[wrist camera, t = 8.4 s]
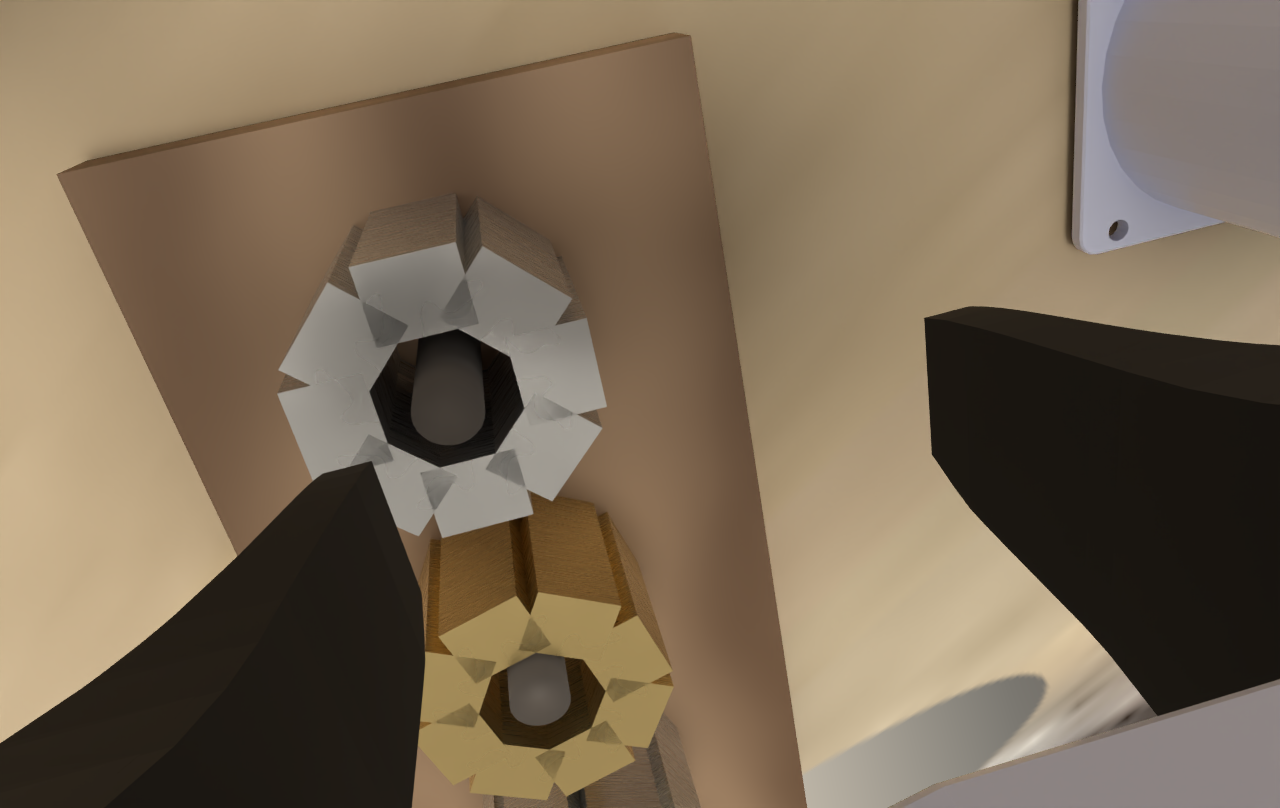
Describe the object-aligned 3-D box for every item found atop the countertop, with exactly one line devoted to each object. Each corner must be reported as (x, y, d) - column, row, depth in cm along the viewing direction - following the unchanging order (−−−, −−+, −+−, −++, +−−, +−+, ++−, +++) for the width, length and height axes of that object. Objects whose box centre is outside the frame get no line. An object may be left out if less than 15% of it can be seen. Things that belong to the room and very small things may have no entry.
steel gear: (542, 172, 18) (563, 217, 14) (595, 402, 20) (625, 489, 17) (281, 232, 17) (236, 293, 14) (366, 459, 20) (346, 562, 16)
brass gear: (661, 516, 22) (702, 619, 18) (597, 683, 23) (622, 807, 20) (448, 474, 20) (447, 576, 17) (396, 656, 22) (385, 784, 18)
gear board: (673, 32, 19) (761, 47, 13) (790, 771, 28) (868, 952, 23) (87, 160, 18) (-75, 233, 12) (416, 882, 27) (406, 1099, 22)
